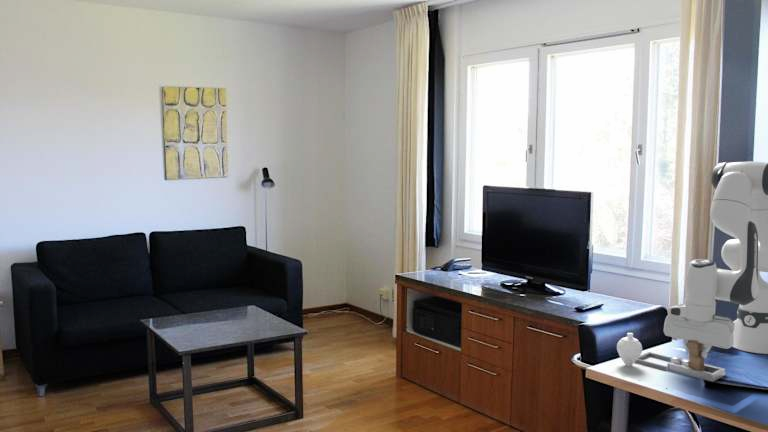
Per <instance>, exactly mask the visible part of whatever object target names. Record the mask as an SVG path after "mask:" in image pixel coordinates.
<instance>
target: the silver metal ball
mask: <svg viewBox="0 0 768 432" xmlns="http://www.w3.org/2000/svg"><path fill="white" fill-rule="evenodd" d="M681 365H682V366H686V367H690V359H687V358H683V359H682V361H681Z"/></svg>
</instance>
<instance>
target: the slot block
mask: <svg viewBox="0 0 768 432" xmlns="http://www.w3.org/2000/svg"><path fill="white" fill-rule="evenodd" d="M681 358H682V357H681ZM682 359H684V358H682ZM666 366H667V370H666V371H669V372H674V373H677V374H681V375H685V376H690V377H693V378H697V379H701V380H704V381H709V382H712V383H714V382H715V381H717V380H719V379H721V378H723V377H725V375H726V368H723V367H719V366H714V365H711V364H707V363H704V371H702V370H698V369H694V368H690V367H686V366H682V365H678V364H674V363H671V362H668V363H667V365H666Z"/></svg>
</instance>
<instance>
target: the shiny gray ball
mask: <svg viewBox="0 0 768 432" xmlns="http://www.w3.org/2000/svg"><path fill="white" fill-rule="evenodd" d="M670 357H671V362H670V363H674V364H678V365H681V361H682V357H680V356H674V355H673V356H670Z"/></svg>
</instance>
